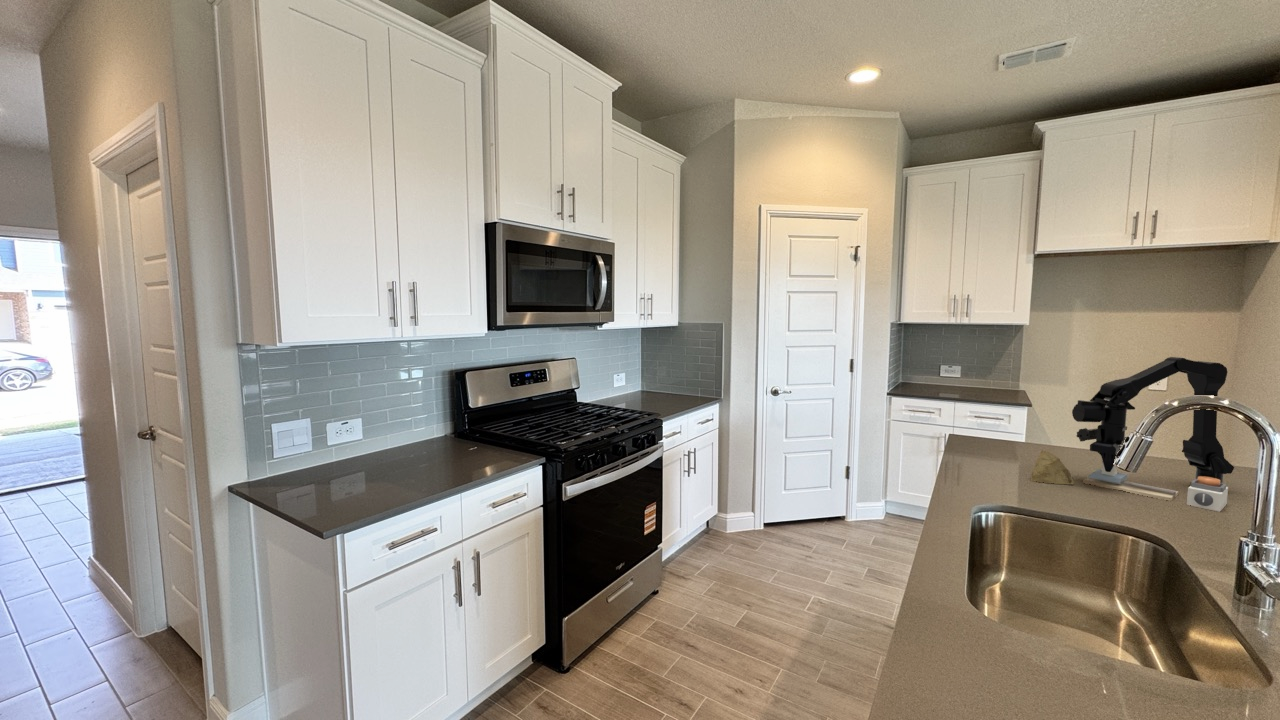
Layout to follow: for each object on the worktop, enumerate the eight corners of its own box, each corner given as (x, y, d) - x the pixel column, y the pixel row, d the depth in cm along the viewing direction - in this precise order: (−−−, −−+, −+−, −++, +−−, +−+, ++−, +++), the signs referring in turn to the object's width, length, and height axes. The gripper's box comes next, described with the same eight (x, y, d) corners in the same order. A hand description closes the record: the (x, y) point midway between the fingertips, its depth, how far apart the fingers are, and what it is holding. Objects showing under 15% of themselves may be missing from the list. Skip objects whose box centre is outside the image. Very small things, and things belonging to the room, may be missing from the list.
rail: (1093, 477, 173) (1093, 472, 172) (1178, 494, 156) (1178, 488, 156) (1083, 483, 167) (1083, 477, 167) (1170, 501, 151) (1170, 495, 150)
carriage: (1098, 473, 171) (1100, 454, 170) (1127, 478, 165) (1128, 459, 164) (1090, 477, 166) (1092, 458, 166) (1119, 483, 160) (1121, 463, 160)
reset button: (1198, 480, 151) (1199, 475, 150) (1221, 484, 147) (1221, 479, 147) (1195, 482, 148) (1196, 478, 148) (1218, 486, 144) (1218, 482, 144)
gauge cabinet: (1194, 497, 154) (1196, 477, 153) (1226, 504, 148) (1228, 483, 148) (1186, 505, 148) (1188, 484, 147) (1219, 512, 142) (1221, 490, 142)
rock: (1080, 476, 167) (1044, 464, 175) (1079, 458, 163) (1042, 447, 171) (1065, 500, 164) (1028, 487, 172) (1063, 483, 160) (1026, 470, 168)
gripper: (1090, 415, 176) (1087, 460, 177) (1071, 421, 165) (1067, 469, 167) (1134, 420, 167) (1131, 468, 168) (1117, 428, 156) (1113, 478, 158)
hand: (1109, 470), depth 165 cm, fingers closed on carriage, 3 cm apart
